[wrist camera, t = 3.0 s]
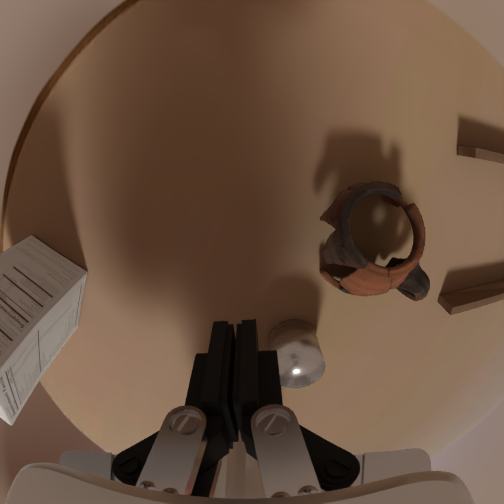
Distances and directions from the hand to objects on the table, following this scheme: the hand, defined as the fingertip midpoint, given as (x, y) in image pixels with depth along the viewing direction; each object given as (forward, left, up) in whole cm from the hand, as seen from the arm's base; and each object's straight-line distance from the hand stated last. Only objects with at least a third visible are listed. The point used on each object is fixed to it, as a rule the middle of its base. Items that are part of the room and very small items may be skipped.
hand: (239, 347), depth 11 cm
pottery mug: (-1, -11, -14) cm, 18 cm away
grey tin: (-12, -4, -14) cm, 19 cm away
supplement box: (-4, +23, -14) cm, 27 cm away
